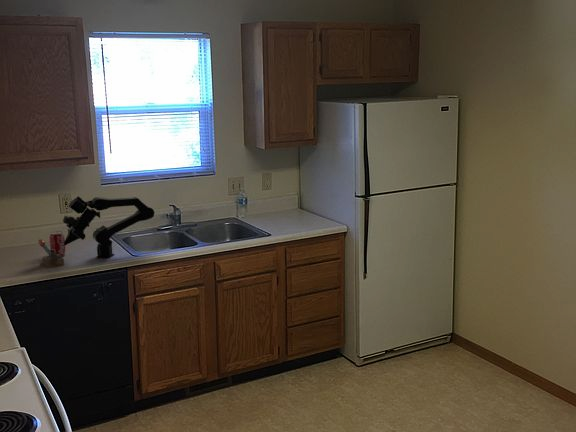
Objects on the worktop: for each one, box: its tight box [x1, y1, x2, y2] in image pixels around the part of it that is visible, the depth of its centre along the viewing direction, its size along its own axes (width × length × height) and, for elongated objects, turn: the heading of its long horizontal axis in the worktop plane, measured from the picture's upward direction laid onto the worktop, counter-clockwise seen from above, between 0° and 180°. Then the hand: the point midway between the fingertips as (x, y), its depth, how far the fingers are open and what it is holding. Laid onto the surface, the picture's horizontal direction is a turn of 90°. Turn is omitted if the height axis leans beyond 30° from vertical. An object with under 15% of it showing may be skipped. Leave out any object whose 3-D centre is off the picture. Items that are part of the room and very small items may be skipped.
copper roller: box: [37, 238, 52, 259], centre depth 307 cm, size 2×6×10 cm
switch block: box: [42, 249, 65, 268], centre depth 309 cm, size 8×10×6 cm
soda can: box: [49, 230, 67, 257], centre depth 322 cm, size 7×7×12 cm
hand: (64, 244), depth 310 cm, fingers closed
